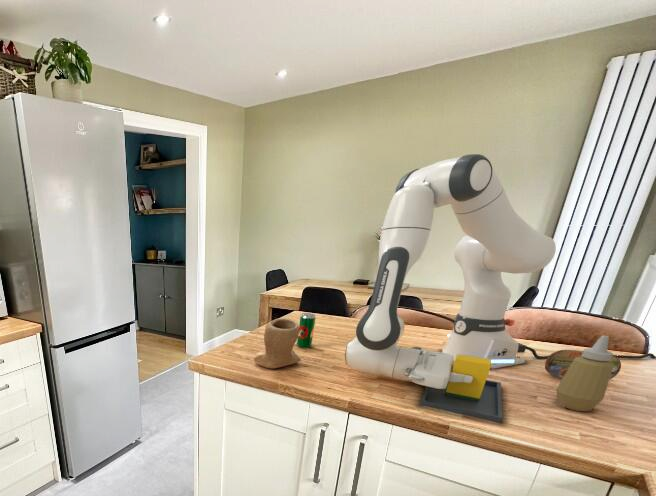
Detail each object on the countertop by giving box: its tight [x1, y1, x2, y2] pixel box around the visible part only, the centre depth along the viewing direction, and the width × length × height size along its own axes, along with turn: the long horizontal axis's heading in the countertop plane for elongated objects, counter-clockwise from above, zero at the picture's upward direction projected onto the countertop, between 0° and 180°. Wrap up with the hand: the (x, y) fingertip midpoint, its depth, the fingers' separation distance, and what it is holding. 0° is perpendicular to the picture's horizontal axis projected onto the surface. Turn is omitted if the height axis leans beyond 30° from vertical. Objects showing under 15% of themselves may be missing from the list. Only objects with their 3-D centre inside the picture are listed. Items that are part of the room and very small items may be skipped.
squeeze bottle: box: [555, 335, 614, 412], centre depth 94 cm, size 8×8×18 cm
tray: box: [419, 379, 503, 424], centre depth 103 cm, size 26×16×2 cm, turn 141°
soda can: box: [296, 312, 317, 349], centre depth 144 cm, size 5×5×12 cm
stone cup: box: [253, 317, 301, 369], centre depth 126 cm, size 15×12×15 cm
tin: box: [544, 349, 622, 381], centre depth 111 cm, size 15×3×8 cm, turn 66°
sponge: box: [445, 355, 491, 402], centre depth 102 cm, size 4×7×10 cm, turn 51°
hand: (472, 375), depth 101 cm, fingers closed on sponge, 4 cm apart
